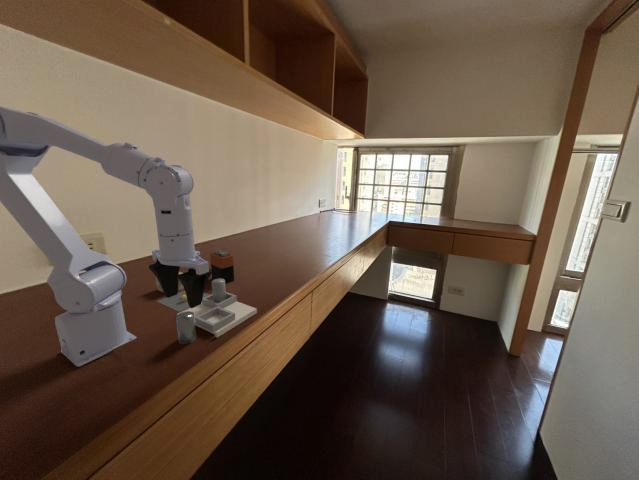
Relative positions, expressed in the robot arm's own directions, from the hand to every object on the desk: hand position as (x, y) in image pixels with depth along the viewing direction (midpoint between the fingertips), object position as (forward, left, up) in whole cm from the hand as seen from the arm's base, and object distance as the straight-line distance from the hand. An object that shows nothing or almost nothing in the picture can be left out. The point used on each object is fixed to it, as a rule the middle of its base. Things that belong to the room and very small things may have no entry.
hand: (183, 300), depth 50 cm
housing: (+12, +26, -9) cm, 30 cm away
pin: (0, 0, -9) cm, 9 cm away
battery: (+25, +19, -10) cm, 33 cm away
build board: (+10, +3, -9) cm, 14 cm away
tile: (+10, +17, -9) cm, 22 cm away
